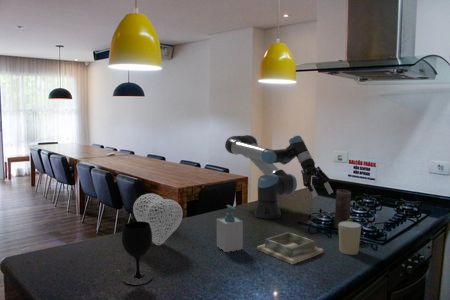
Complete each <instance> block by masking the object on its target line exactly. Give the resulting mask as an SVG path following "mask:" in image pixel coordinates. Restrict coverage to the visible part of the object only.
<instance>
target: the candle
mask: <svg viewBox="0 0 450 300" xmlns="http://www.w3.org/2000/svg"><path fill="white" fill-rule="evenodd" d="M335 193H336V195H335V196H336V197H335V211H334V223H333V225H334V227H335V228H336V229H337V230H338V223H340V222H342V221H347V220H348V219H351V200H352V192H351V191H350V190H347V189H343V188H339V189H336V192H335ZM349 222H351V221H349Z"/></svg>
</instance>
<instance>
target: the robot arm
mask: <svg viewBox="0 0 450 300" xmlns="http://www.w3.org/2000/svg"><path fill="white" fill-rule="evenodd" d="M288 143H289V145H288V146H287V147H286V148H282V149H271V148H270V149H269V148H268V147H262V146H259V145H258V144H259V143H258V141H257V139H256V137H255V136H253V135H249V134H248V135H247V134H245V135H232V136H229V137H228V138H227V139H226V140H225V143H224V146H225V147H224V148H225V150H226V151H227V152H228V153H229V154H232V155H235V156H237V155H241V156H243V157H244V158H247V159H250V161H251V162H252V163H253V164H254V165H255V166H256V167H257V168H258V169H259V170H260V172H262V174H263V175H260V176H259V177H258V179H257V202H256V207H255V209H254V216H255V217H257V218H259V219H262V220H263V219H266V220H273V219H279V218H280V217H281V215H282V213H281V210H280V205H279V200H278V199H279V197H281V196H286V195H290V194H292V193H295V192H296V190H297V186H298V183H297V182H298V181H297V178H296V176H295V175H293V174H290V173H287V172H285V171H284V170H283V169H279V168H278V167H277V166H276V165H275V164H278V163H279V164H282V165H285V166H286V165H287V164H289V163H290V162H291V161H293V159H295V158H297V161H298V163H299V164H300V166H301V170H300V173H301V176H302V184H303V186H304V187H305V188H308V190H309V192H310V194H311V195H312V198H313V199H315V198H316V197H318V196H319V195H318V192H317V191H316V188H315V187H314V184H312V177H315V178H317V179H318V180H320V181H321V182H322V183H323V185H324V187H325V189H326V191H327V194H328V195H331V194H332V193H334V190H333V189H332V187H331V184H330V183H329V182H330V178H329V176H327V174H326V173H325V172H324V171H323V170H322V169H321V167H320V166H319V165H318V166H317V167H316V166H315V165H316V162H315V160H314V159H313V156H312V155H311V153H310V151H309V150H308V147H307V145H306V144H305V141H304V139H303V138H302V136H301V135H298V134H297V135H294V136H292V137H291V138H290V139H288Z"/></svg>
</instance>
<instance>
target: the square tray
mask: <svg viewBox="0 0 450 300" xmlns="http://www.w3.org/2000/svg"><path fill="white" fill-rule="evenodd" d="M256 250H257V251H259V252H261V253H263V252H264V254H266V255H268V254H269V256H270V255H271V257H272V258H275V257H276V259H278V260H280V261H282V260H283V262H285V263H287V264H289V263H290V264H289V265H294V264H298V263H299V262H302V261H305V260H308V259H310V258H313V257H315V256H318V255H320V254H323V253H324V249H323V248H321V247H318V246H316V240H313V239H310V238H307V237H305V236H301V235H298V234H295V233H291V232H290V231H287V232H284V233H280V234H278V235H274V236H271V237H268V238H265V239H264V243H263V244H261V245H256ZM297 262H298V263H297Z"/></svg>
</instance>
